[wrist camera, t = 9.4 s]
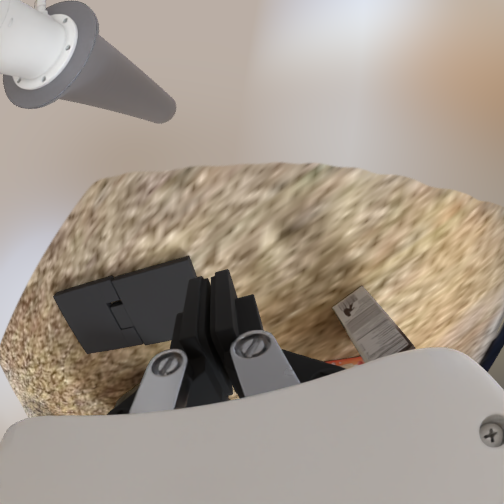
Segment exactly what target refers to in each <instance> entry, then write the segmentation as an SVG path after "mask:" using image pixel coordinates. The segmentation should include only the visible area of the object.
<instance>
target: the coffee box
mask: <svg viewBox="0 0 504 504" xmlns="http://www.w3.org/2000/svg"><path fill="white" fill-rule="evenodd" d="M332 309H333V311H334V312H335V314H336V316H337V317H338V319H339V320H340V322H341V324H342V325H343V327H344V329H345V330H346V332H347V334H348V335H349V337H350V339H351V340H352V342H353V344H354V345H355V347H356V349H357V350H358V352H359V354H360V356H361V357H362V359H363V361H364V362H365V363H367V362H370V361H372V360H375V359H378V358H382V357H385V356H388V355H392V354H395V353H399V352H404V351H408V350H413V349H415V347H414V345H413V344H412V343H411V342H410V340H409V339H408V338H407V337H406V336H405V334H404V333H403V332H402V331H401V330H400V329H399V327H398V326H397V325H396V324H395V323H394V321H393V320H392V319H391V318H390V317H389V316H388V314H387V313H386V312H385V311H384V310H383V309H382V307H381V306H380V305H379V304H378V303H377V302H376V300H375V299H374V298H373V297H372V296H371V295H370V294H369V293H368V291H367V290H366V289H365V288H364V287H363V286H361V287H359V288H358V289H357V290H355V291H354V292H353V293H351V294H350V295H349V296H347V297H346V298H345V299H343V300H342V301H340V302H339V303H338V304H336V305H335V306H333V308H332Z"/></svg>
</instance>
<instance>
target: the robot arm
mask: <svg viewBox="0 0 504 504" xmlns="http://www.w3.org/2000/svg"><path fill="white" fill-rule="evenodd" d="M45 8H46V0H36V1H35V5H34V8H33V7H31V6H29V5H28V4H26V3H24V2H22V1H20V0H0V74H5V75H10V76H12V77H13V79H14V82H15V83H16V84H17V86H19V87H20V88H23V89H27V90H34V89H39V88H41V87H43V86H45V85H47V84H49V83H50V82H51V81H52V80H54V79H55V78H56V77H57V76H58V75H59V74H60V73H61V72H62V70H63V69H64V68H65V67H66V65H67V64H68V62H69V60H70V59H71V57H72V55H73V53H74V50H75V47H76V44H77V39H78V29H77V25H76V23H75V22H74V20H72V19H71V18H70V17H68V16H67V15H64V14H55V15H51V16H50V15H48V11H47V10H45ZM232 385H233V388H234V390H235V392H236V393H237V394H238V396H239V398H240V399H235V400H230V401H229V398H228V395H233V389H232ZM0 504H504V390H503V389H502V388H501V387H500V385H499V384H498V383H497V382H496V381H495V380H494V379H493V378H492V377H491V375H490V374H489V373H488V372H487V371H486V370H484V369H483V368H482V367H481V366H480V365H479V364H478V363H477V362H475V361H474V360H473V359H472V358H470V357H469V356H467V355H466V354H464V353H462V352H460V351H458V350H455V349H451V348H447V347H429V348H421V349H413V350H408V351H404V352H399V353H395V354H392V355H388V356H385V357H382V358H378V359H375V360H372V361H370V362H367V363H364V364H361V365H358V366H355V367H352V368H349V369H345V368H343V367H341V366H337V365H333V364H330V363H326V362H323V361H319V360H316V359H312V358H309V357H305V356H302V355H299V354H295V353H292V352H289V351H286V350H283V349H281V348H280V346H279V344H278V343H277V341H276V339H275V337H274V336H273V335H272V334H271V333H269V332H267V331H264V330H263V326H262V322H261V318H260V315H259V311H258V308H257V304H256V301H255V297H254V294H252V295H248V296H245V297H241V298H237V295H236V291H235V288H234V285H233V282H232V279H231V275H230V272H229V270H228V269H227V270H223V271H219V272H215V276H214V277H211V285H210V282H209V280H208V278H206V279H203V277H202V276H200V277H197V278H193V279H189V282H188V287H187V293H186V299H185V304H184V310H183V312H181V313H177V315H176V319H175V325H174V330H173V335H172V341H171V347H170V349H169V350H165V351H162V352H160V353H159V354H157V355H156V356H154V357H153V358H152V359H151V361H150V362H149V364H148V366H147V368H146V371H145V373H144V376H143V378H142V381H141V383H140V386H139V388H138V390H136V391H135V392H134V393H133V394H131V395H130V396H129V397H128V398H126V399H125V400H124V401H123V402H121V403H120V404H119V405H118V406H116V407H115V408H114V409H112V410H111V411H110V412H109V413H108V414H107V415H90V416H74V415H63V416H48V415H47V416H36V417H31V418H27V419H24V420H21V421H19V422H17V423H15V424H13V425H12V426H10V427H9V428H8V430H7V431H6V433H5V434H4V436H3V438H2V440H1V442H0Z"/></svg>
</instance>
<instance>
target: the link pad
mask: <svg viewBox="0 0 504 504" xmlns="http://www.w3.org/2000/svg"><path fill="white" fill-rule="evenodd" d="M193 278H197V276H196V273H195V270H194V268H193V265H192V262H191V259H190V257H189V256H186V257H183V258H179V259H176V260H172V261H169V262H165V263H162V264H158V265H155V266H151V267H148V268H144V269H141V270H137V271H134V272H130V273H127V274H123V275H120V276H117V277H115V278H114V279H113V281H112V283H113V285H114V287H115V289H116V291H117V293H118V295H119V297H120V299H121V301H118V302H114V303H113V304H112V305H111V307H110V308H111V310H112V312H113V314H114V316H115V318H116V319H117V321H118V323H119V325H120V327H121V329H123V328H128V327H133V326H135V328H136V330H137V332H138V334H139V335H140V337H141V339H142V341H143V343H144V344H145V345H150V344H155V343H160V342H165V341H170V340H172V335H173V330H174V325H175V319H176V315H177V313H181V312H183V310H184V304H185V299H186V293H187V287H188V282H189V279H193Z"/></svg>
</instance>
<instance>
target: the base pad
mask: <svg viewBox="0 0 504 504" xmlns="http://www.w3.org/2000/svg"><path fill="white" fill-rule="evenodd" d="M113 279H114V277H113V276H109V277H106V278H102V279H99V280H95V281H92V282H89V283H86V284H82V285H79V286H76V287H72V288H69V289H66V290H63V291H59V292H57V293H56V294H55V295H54V296H53V297H54V299H55V301H56V303H57V305H58V307H59V309H60V310H61V312H62V314H63V316H64V318H65V319H66V321H67V323H68V324H69V326H70V328H71V330H72V331H73V333H74V334H75V336H76V338H77V339H78V341H79V342H80V344H81V346H82V347H83V349H84V350H85V352H86V353H87V354H89V353H96V352H102V351H108V350H114V349H120V348H125V347H131V346H136V345H141V344H143V341H142V339H141V337H140V335H139V334H138V332H137V330H136V328H135V326H133V327H128V328H123V329H121V327H120V325H119V323H118V321H117V319H116V318H115V316H114V314H113V312H112V310H111V308H110V307H111V305H112V304H111V302H114V301H118V300H120V297H119V295H118V293H117V291H116V289H115V287H114V285H113V283H112V281H113Z"/></svg>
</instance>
